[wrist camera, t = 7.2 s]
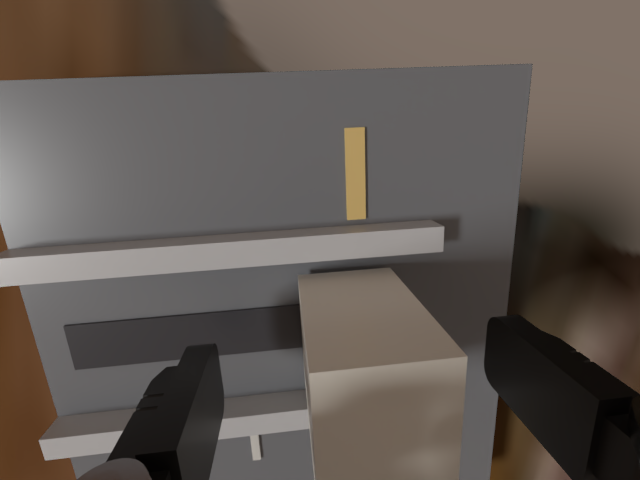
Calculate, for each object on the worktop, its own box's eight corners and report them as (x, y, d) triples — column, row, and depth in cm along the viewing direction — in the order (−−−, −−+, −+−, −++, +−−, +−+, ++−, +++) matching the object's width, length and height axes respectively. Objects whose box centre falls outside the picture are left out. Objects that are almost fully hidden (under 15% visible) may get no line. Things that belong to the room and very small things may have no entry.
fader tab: (389, 267, 11) (467, 356, 7) (389, 373, 12) (455, 516, 8) (297, 274, 11) (308, 373, 6) (305, 382, 12) (319, 536, 7)
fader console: (487, 78, 13) (557, 55, 10) (459, 465, 18) (499, 538, 14) (23, 94, 12) (-80, 74, 8) (129, 510, 16) (90, 601, 13)
